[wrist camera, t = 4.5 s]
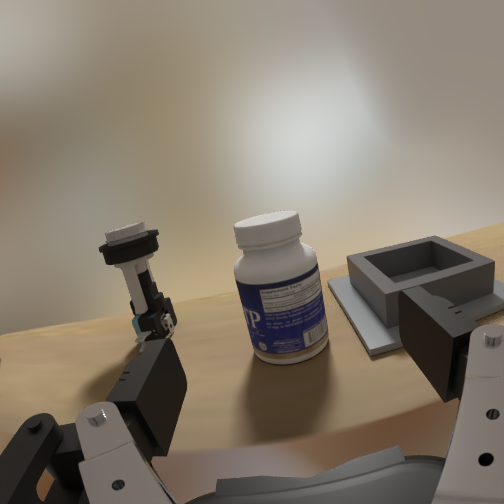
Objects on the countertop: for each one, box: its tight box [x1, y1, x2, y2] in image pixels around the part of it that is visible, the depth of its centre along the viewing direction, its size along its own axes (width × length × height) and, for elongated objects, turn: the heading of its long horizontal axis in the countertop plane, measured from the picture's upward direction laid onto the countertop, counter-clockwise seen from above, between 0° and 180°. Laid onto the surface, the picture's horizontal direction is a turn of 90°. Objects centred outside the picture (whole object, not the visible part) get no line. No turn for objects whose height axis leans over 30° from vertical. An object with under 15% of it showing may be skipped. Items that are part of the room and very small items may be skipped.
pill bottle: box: [234, 211, 328, 364], centre depth 20 cm, size 5×5×9 cm
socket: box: [327, 236, 504, 356], centre depth 23 cm, size 13×13×3 cm
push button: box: [99, 221, 177, 352], centre depth 26 cm, size 7×5×10 cm
